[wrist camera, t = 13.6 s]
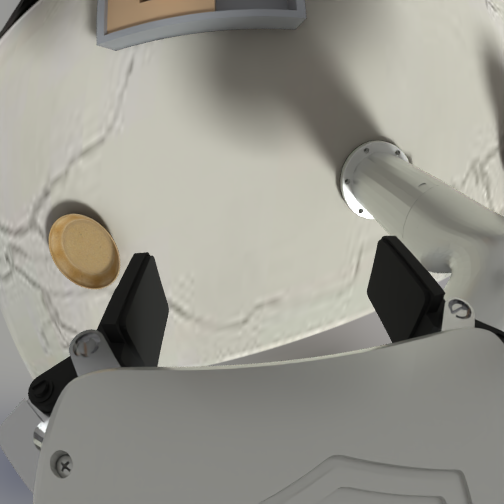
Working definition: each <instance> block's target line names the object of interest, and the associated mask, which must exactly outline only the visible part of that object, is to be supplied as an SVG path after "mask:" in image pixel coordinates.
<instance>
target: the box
mask: <svg viewBox="0 0 504 504" xmlns="http://www.w3.org/2000/svg"><path fill="white" fill-rule="evenodd" d="M305 19H306V8H305V0H98V3H97V45H98V46H102V47H105V48H108V49H112V50H115V51H117V50H120V49H123V48H127V47H131V46H134V45H138V44H142V43H146V42H150V41H155V40H160V39H164V38H170V37H175V36H181V35H187V34H194V33H202V32H210V31H221V30H234V29H296V28H297V27H298V26H299V25H300V24H301V23H302V22H303V21H304V20H305Z"/></svg>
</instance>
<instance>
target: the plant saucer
mask: <svg viewBox="0 0 504 504" xmlns="http://www.w3.org/2000/svg"><path fill="white" fill-rule="evenodd" d="M49 250H50V253H51V256H52V259H53V261H54V263H55V264H56V266H57V267H58V269H59V270H60V271H61V273H62V274H63V275H64V276H65V277H67V278H68V279H69V280H70V281H72V282H73V283H75V284H77V285H79V286H81V287H84V288H88V289H102V288H105V287H108V286H109V285H111V284H112V283H113V282H114V281H115V280H116V278H117V277H118V274H119V271H120V255H119V251H118V248H117V246H116V244H115V242H114V240H113V238H112V236H111V235H110V234H109V232H108V231H107V230H106V229H105V228H104V227H103V226H102V225H101V224H100V223H98V222H97V221H95V220H94V219H92V218H90V217H87V216H84V215H81V214H67V215H64V216H62V217H60V218H58V219H57V220H56V221H55V222H54V224H53V225H52V227H51V229H50V232H49Z"/></svg>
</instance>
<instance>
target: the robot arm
mask: <svg viewBox="0 0 504 504" xmlns="http://www.w3.org/2000/svg"><path fill="white" fill-rule="evenodd" d="M364 149H365V151H364ZM346 179H347V180H346ZM345 180H346V181H345ZM340 187H341V192H342V196H343V198H344V200H345V202H346V204H347V205H348V206H349V208H350V209H351V210H352V211H353V212H354V213H356V214H357V215H359V216H361V217H364V218H368V219H375V220H376V221H377V222H378V223H379V224H380V225H381V226H382V227H383V228H384V229H385V230H386V231H387V232H388V234H389V235H390V236H383V237H382V239H381V240H379V241H378V245H377V250H376V254H375V259H374V263H373V268H372V272H371V276H370V280H369V284H368V288H367V295H368V297H369V299H370V301H371V303H372V305H373V307H374V308H375V310H376V312H377V314H378V316H379V317H380V319H381V321H382V323H383V325H384V327H385V329H386V331H387V333H388V335H389V337H390V339H391V341H392V343H390V344H386V345H381V346H376V347H371V348H366V349H361V350H356V351H350V352H345V353H339V354H332V355H326V356H319V357H313V358H305V359H297V360H288V361H280V362H269V363H257V364H244V365H229V366H201V367H157V365H158V360H159V355H160V350H161V345H162V340H163V336H164V331H165V327H166V322H167V318H168V313H169V308H168V303H167V300H166V297H165V294H164V290H163V287H162V284H161V280H160V277H159V273H158V270H157V266H156V262H155V259H154V257H153V256H150V255H149V253H148V252H147V253H135V254H134V255H133V257H132V259H131V261H130V263H129V265H128V267H127V269H126V270H125V272H124V274H123V276H122V278H121V280H120V282H119V285H118V286H117V288H116V289H115V291H114V293H113V295H112V298H111V300H110V302H109V304H108V306H107V308H106V310H105V313H104V315H103V317H102V319H101V322H100V324H99V326H98V329H97V330H92V329H91V330H86V331H83V332H81V333H79V334H78V335H76V337H75V338H74V339H73V340H72V342H71V344H70V347H69V353H70V357H68V358H66V359H65V360H63V361H62V362H60V363H58V364H57V365H55V366H54V367H52V368H51V369H49V370H47V371H46V372H44V373H43V374H41V375H40V376H38V377H37V378H36V379H34V380H33V382H32V383H31V385H30V387H29V392H28V396H29V399H28V400H25V399H23V400H22V402H20V404H19V405H18V406H17V407H16V408H15V409H14V410H13V411H12V413H11V414H10V415H9V416H8V417H7V418H6V420H5V421H4V422H3V423H2V424H1V426H0V446H1V448H2V450H3V451H4V453H5V455H6V456H7V458H8V459H9V461H10V463H11V464H12V466H13V467H14V468H15V470H16V471H17V473H18V474H19V476H20V477H21V478H22V480H23V481H24V483H25V484H26V485H27V486H28V488H29V489H30V491H31V492H32V493H33V494H34V497H33V504H504V216H502V215H500V214H498V213H496V212H494V211H492V210H490V209H489V208H487V207H485V206H483V205H481V204H480V203H478V202H476V201H475V200H473V199H471V198H470V197H468V196H466V195H465V194H463V193H461V192H460V191H458V190H457V189H455V188H453V187H451V186H450V185H448V184H446V183H445V182H443V181H441V180H439V179H438V178H436V177H434V176H432V175H431V174H429V173H427V172H425V171H423V170H421V169H420V168H418V167H416V166H414V165H412V164H410V163H409V160H408V159H407V157H406V155H405V154H404V153H403V151H402V150H401V149H399V148H398V147H397V146H395V145H393V144H391V143H388V142H385V141H378V140H377V141H370V142H367V143H364V144H362V145H361V146H359V147H357V148H356V149H355V150H354V151H353V152H352V153H351V154H350V156H349V157H348V158H347V160H346V162H345V164H344V166H343V169H342V172H341V179H340ZM428 271H429V272H433V273H451V276H450V279H449V281H448V283H447V285H446V286H445V288H444V290H443V289H442V288H441V287H440V286H439V284H438V283H437V282H436V281H435V279H434V278H433V277H432V276H431V275H430V273H429V272H428Z"/></svg>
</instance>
